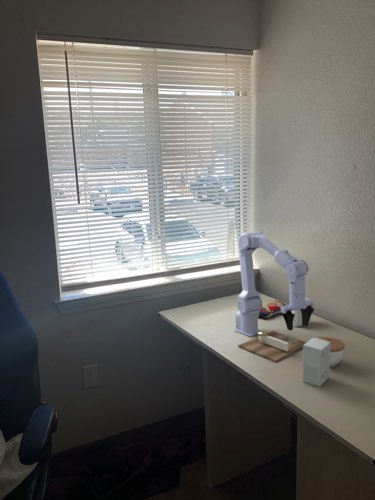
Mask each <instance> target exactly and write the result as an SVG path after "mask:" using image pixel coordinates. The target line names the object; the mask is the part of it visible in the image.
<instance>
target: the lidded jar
mask: <svg viewBox="0 0 375 500" xmlns="http://www.w3.org/2000/svg"><path fill="white" fill-rule="evenodd" d="M317 338H318V339H322V340H326V341H329V342H331V347H330V365H329V367H335V366H337V365H338V364H339V363H340V362H341V361H342V360H343V357H344V354H345V347H346V345H345V342H343V341H342V340H340V339H338V338H336V337H331V336H319V337H317Z"/></svg>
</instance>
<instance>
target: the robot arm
mask: <svg viewBox="0 0 375 500" xmlns="http://www.w3.org/2000/svg"><path fill="white" fill-rule="evenodd" d="M237 240H238V254H239V255H238V256H239V257H238V258H239V265H240V278H241V287H242V291H241V292H240V293H239V295H238V296H237V305H236V306H237V309H238V311H237V312H236V314H235V329H233V330H234V331H235V332H236V333H237V332H238V333H240V334H242V335H244V336H245V335H246V336H248V337H253V336H256V335H258V331H261V329H259V317H258V312H259V310H260V309H261V308H262V306H263V301H262V297H261V294H260V292H258V291H257V290H256V284H255V272H254V271H255V270H254V261H253V254H254V253H255V251H256V250H257V249H258V248H259V249H261V250H264V251H265V252H267V253H268V254H269V255H271V256H272V257H273V259H274V262H275V263H277V264H278V265H279V266H280V267H282V268H283V269H284V270H285V274H286V275H287V280H288V282H289V288H288V290H289V294H288V295H289V296H288V297H289V298H288V299H289V303H288V304H286V305H285V306H283V307H281V312H280V314H281V315H282V318H283V320H284V322H285V325H286V328H287V331H290V332H291V331H292V332H293V328H294V326H293V320H294V316H295V314H293V313H292V312H291V311H293V310H297V309H300V310H301V315H302V326H304V327H308V326H309V324H310V323H309V319H310V317H311V318H312V314H313V313H314V311H315V308H314V301H313V300H311V301H305V297H306V275H307V274H308V272H309V264H308V263H307V262H306V261H305V260H304V259H299V258H298V257H296V256H293V255H292V254H291V253H289V250H288V249H284V248H283V249H280V248H278V247H277V246H276V245H275V244H274V243H273V242H272V241H271V240H270V239H269V238H268V236H267V234H265V233H264V232H263V231H261V230H258V231H253V232H243V233H242V234H240V235H239V237H238V238H237Z"/></svg>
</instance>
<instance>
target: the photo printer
mask: <svg viewBox="0 0 375 500" xmlns="http://www.w3.org/2000/svg"><path fill="white" fill-rule="evenodd" d="M305 301H312V300H311V298H309V297H306V296H305ZM291 312H292V313H293V314H295V316H294V320H293V328H294V327H295V328H297V327H301V326H303V325H302V315H301V310H300V309H297V310H293V311H291ZM311 322H312V316H311V317H310V319H309V323H308V324H311Z"/></svg>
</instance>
